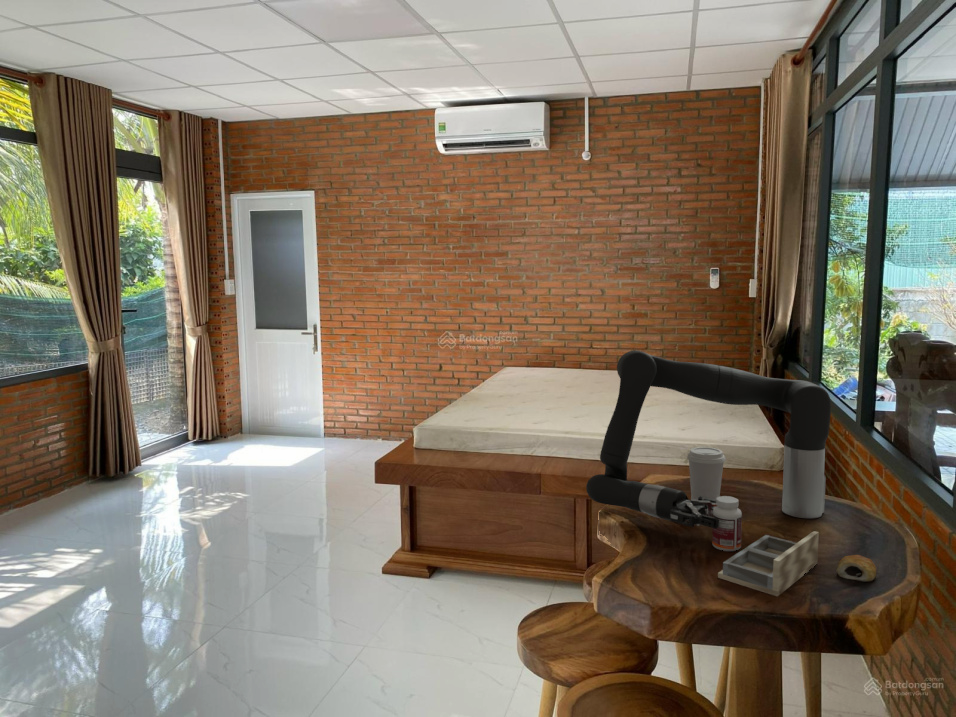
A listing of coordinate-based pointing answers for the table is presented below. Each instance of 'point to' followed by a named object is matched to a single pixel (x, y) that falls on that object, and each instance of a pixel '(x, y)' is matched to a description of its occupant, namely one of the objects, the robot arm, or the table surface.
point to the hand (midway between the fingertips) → (727, 518)
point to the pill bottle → (727, 524)
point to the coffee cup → (705, 472)
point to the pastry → (856, 568)
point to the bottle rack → (772, 563)
